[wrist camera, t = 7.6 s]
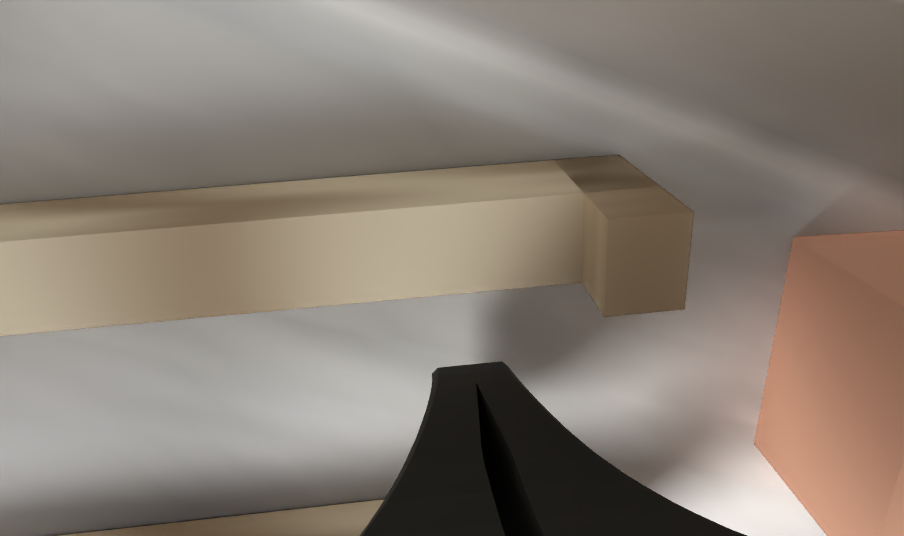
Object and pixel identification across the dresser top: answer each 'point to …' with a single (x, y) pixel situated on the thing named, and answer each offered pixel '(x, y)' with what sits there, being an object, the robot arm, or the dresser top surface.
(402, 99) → the dresser top surface
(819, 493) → the block
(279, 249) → the chute
